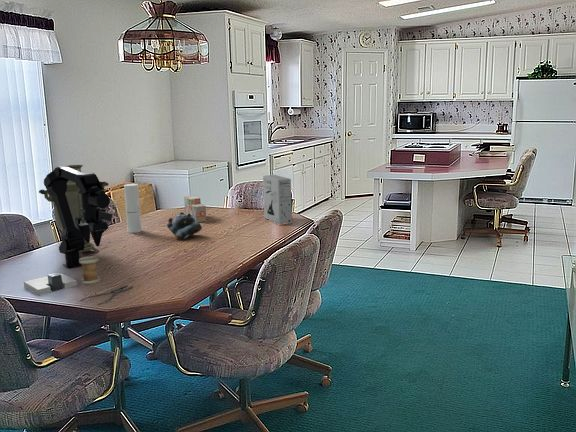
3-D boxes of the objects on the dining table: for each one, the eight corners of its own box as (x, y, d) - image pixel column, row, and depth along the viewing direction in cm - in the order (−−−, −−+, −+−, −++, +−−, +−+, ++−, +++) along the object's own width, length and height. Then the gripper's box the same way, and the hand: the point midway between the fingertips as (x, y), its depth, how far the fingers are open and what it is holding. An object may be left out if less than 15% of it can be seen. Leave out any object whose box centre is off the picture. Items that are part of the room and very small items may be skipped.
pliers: (76, 301, 193) (111, 283, 212) (77, 304, 193) (111, 286, 212) (101, 304, 190) (134, 285, 209) (101, 306, 190) (134, 287, 209)
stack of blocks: (206, 221, 323) (205, 200, 321) (196, 222, 320) (194, 201, 318) (195, 215, 342) (194, 195, 339) (185, 216, 339) (183, 196, 337)
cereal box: (264, 218, 327) (262, 175, 322) (276, 217, 330) (274, 174, 325) (279, 225, 308) (278, 179, 303) (292, 223, 311) (291, 178, 306)
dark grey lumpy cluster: (179, 241, 276) (166, 216, 276) (174, 246, 287) (161, 221, 287) (205, 229, 282) (193, 204, 283) (200, 234, 293) (188, 210, 294)
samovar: (49, 265, 240) (38, 171, 232) (44, 252, 262) (34, 166, 255) (121, 255, 253) (113, 166, 245) (110, 243, 276) (103, 161, 268)
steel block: (49, 289, 208) (47, 274, 207) (58, 287, 211) (57, 272, 210) (53, 291, 206) (51, 276, 205) (62, 289, 208) (61, 274, 207)
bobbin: (78, 281, 216) (75, 259, 215) (95, 277, 221) (93, 255, 219) (86, 285, 211) (83, 262, 210) (103, 281, 216) (101, 258, 214)
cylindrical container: (143, 229, 305) (140, 183, 300) (138, 232, 298) (135, 185, 293) (130, 229, 306) (126, 183, 301) (125, 232, 299) (121, 185, 294)
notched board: (24, 286, 212) (23, 281, 212) (61, 278, 221) (60, 273, 221) (38, 295, 202) (38, 289, 202) (76, 285, 212) (76, 280, 211)
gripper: (119, 205, 221) (122, 244, 224) (99, 200, 235) (102, 236, 238) (91, 209, 214) (95, 249, 217) (72, 203, 227) (76, 241, 231)
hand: (92, 244), depth 226 cm, fingers open, 9 cm apart
